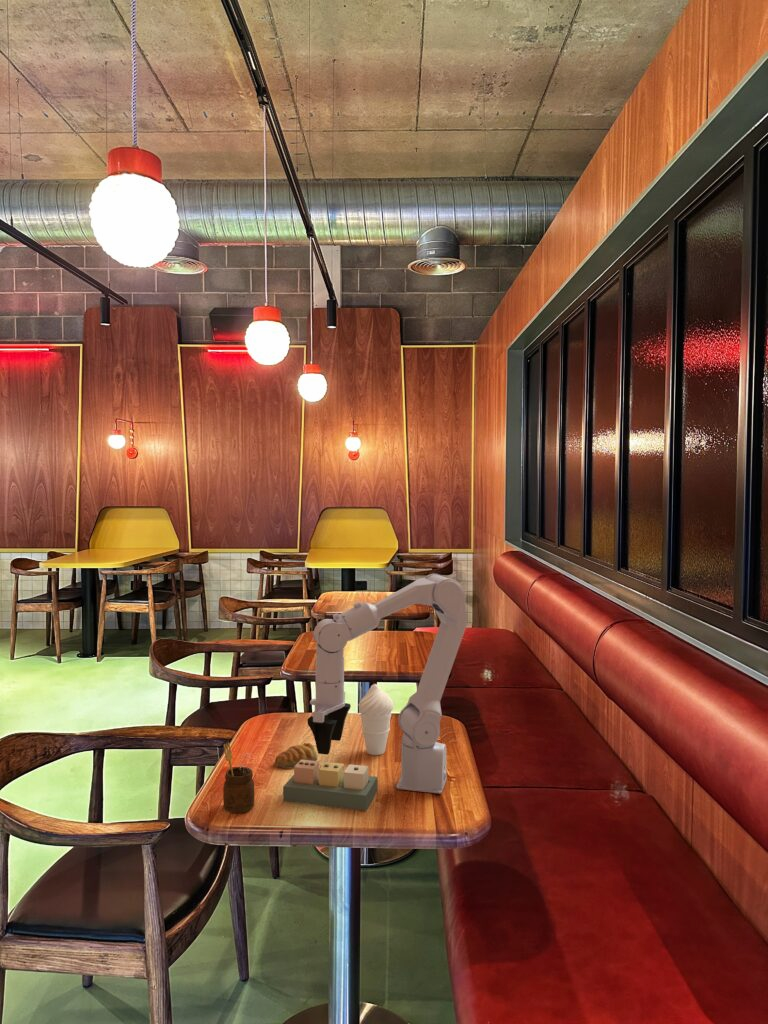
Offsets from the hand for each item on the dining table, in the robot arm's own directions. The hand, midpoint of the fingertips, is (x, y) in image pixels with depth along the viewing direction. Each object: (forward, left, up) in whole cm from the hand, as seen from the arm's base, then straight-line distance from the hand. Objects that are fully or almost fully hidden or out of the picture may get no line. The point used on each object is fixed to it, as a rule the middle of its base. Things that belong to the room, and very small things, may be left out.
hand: (329, 746), depth 139 cm
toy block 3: (-6, +1, -8) cm, 10 cm away
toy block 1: (+5, 0, -8) cm, 10 cm away
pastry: (+12, -14, -10) cm, 21 cm away
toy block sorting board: (0, +1, -10) cm, 10 cm away
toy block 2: (-1, +1, -8) cm, 8 cm away
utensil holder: (+16, +10, -10) cm, 21 cm away
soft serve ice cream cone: (-3, -24, -10) cm, 27 cm away
